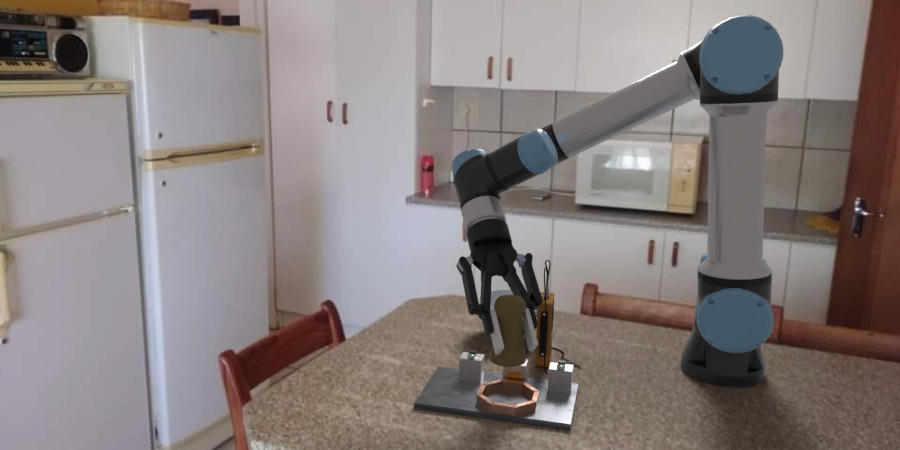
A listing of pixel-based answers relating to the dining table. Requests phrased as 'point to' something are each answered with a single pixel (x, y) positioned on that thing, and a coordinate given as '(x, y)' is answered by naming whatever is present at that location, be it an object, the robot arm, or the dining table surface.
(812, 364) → the dining table surface
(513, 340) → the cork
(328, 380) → the dining table surface
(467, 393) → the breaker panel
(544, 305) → the multimeter
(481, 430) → the dining table surface
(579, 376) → the dining table surface
